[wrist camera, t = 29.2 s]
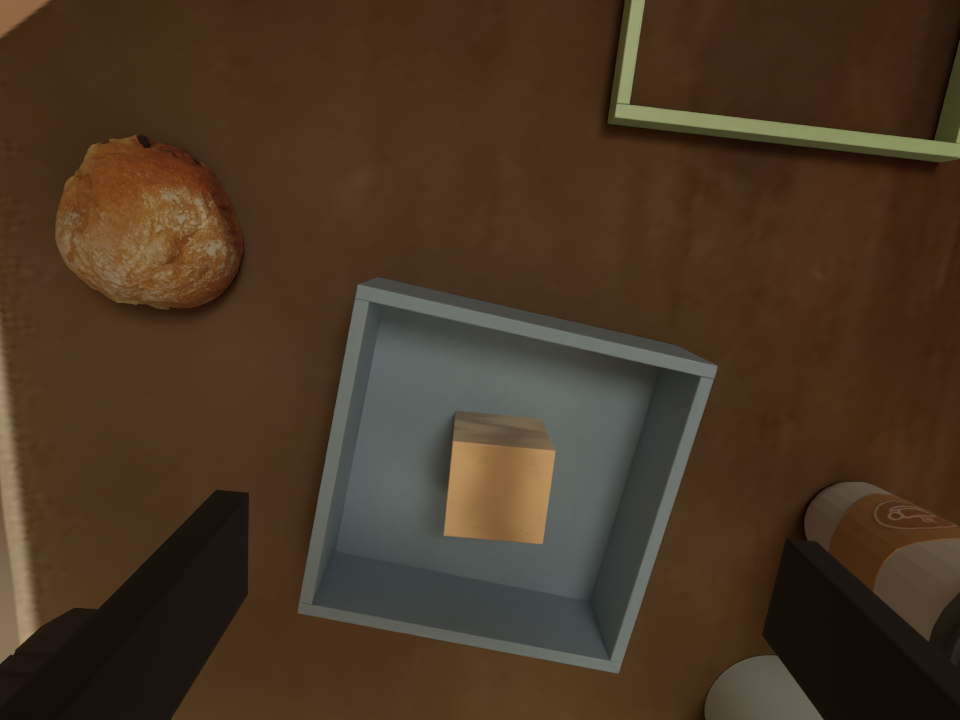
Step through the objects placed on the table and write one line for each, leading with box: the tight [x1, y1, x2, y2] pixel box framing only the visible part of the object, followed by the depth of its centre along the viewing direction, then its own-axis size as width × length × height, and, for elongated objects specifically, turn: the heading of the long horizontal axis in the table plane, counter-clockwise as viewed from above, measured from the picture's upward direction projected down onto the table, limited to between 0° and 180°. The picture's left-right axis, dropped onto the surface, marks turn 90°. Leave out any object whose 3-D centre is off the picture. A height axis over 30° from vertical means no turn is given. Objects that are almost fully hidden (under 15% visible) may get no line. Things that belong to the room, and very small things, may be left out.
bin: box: [297, 277, 718, 673], centre depth 36 cm, size 21×21×6 cm
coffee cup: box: [804, 482, 960, 669], centre depth 33 cm, size 8×8×15 cm
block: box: [443, 411, 556, 544], centre depth 36 cm, size 6×6×6 cm
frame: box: [607, 0, 960, 162], centre depth 33 cm, size 22×14×2 cm, turn 84°
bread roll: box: [55, 134, 243, 309], centre depth 33 cm, size 10×10×8 cm
